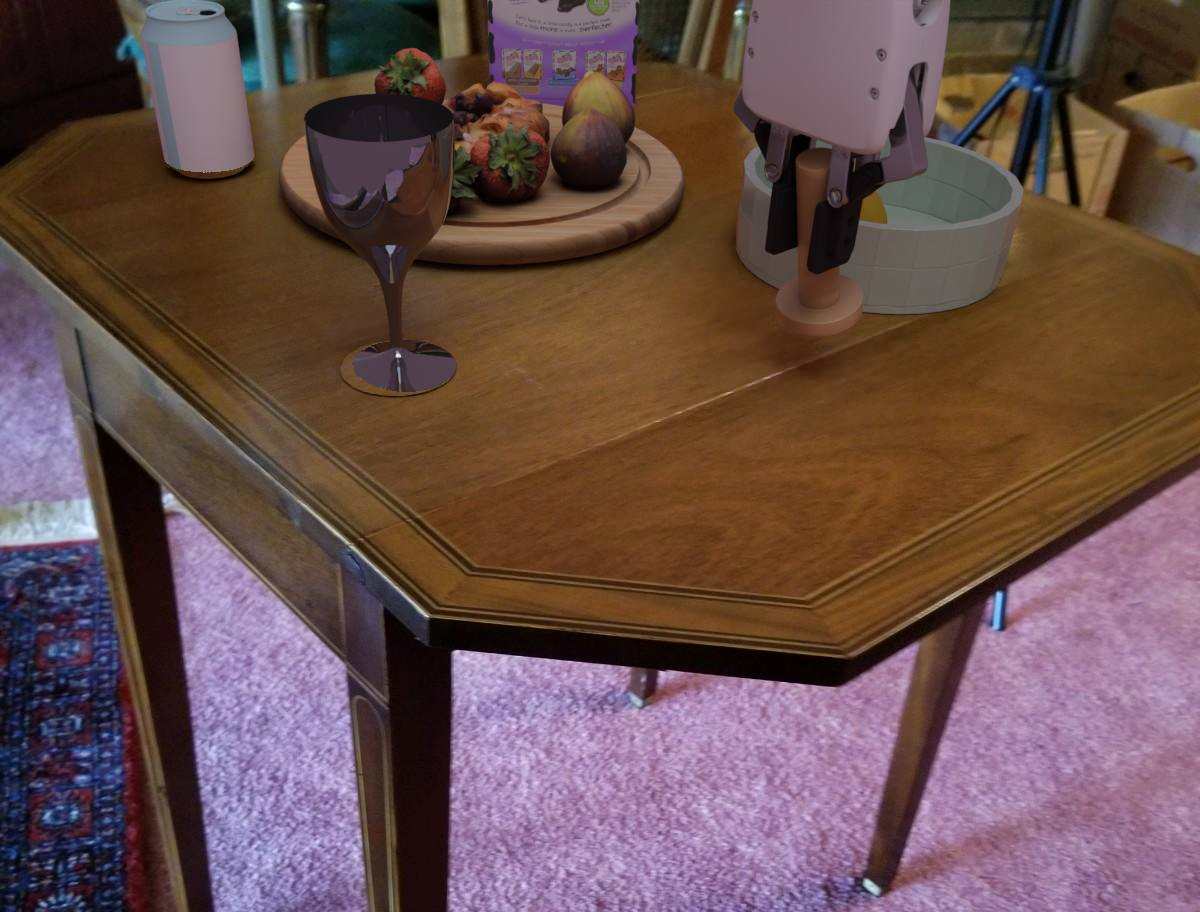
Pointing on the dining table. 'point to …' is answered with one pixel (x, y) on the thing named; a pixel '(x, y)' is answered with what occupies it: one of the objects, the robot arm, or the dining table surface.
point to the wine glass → (386, 209)
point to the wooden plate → (526, 171)
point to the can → (197, 86)
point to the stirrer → (811, 297)
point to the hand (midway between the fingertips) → (807, 254)
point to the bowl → (907, 233)
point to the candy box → (562, 45)
